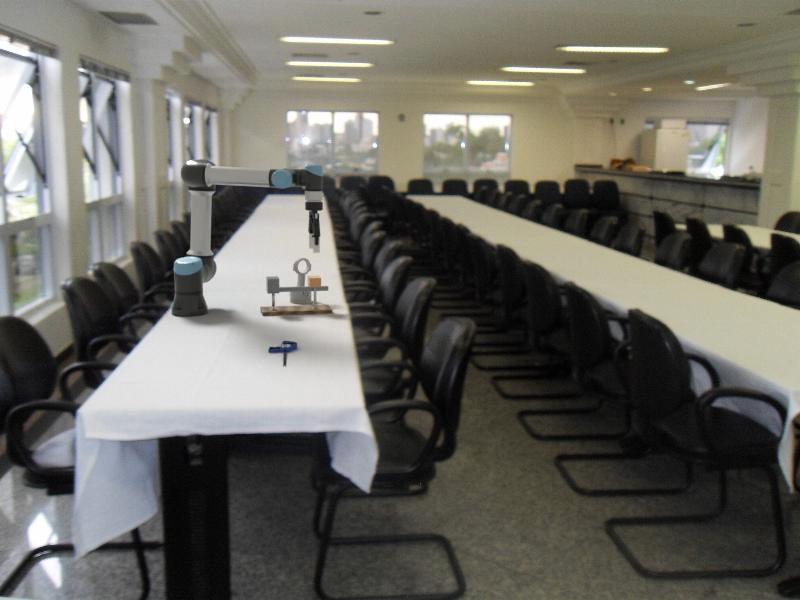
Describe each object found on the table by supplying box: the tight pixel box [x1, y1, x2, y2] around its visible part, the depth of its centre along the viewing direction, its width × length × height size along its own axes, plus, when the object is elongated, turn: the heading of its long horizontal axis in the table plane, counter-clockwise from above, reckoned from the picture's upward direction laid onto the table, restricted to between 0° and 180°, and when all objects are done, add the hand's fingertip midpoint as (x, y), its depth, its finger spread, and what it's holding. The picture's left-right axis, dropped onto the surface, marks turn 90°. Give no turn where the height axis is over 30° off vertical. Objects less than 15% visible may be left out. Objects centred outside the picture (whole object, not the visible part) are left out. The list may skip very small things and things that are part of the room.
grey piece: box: [265, 275, 329, 310], centre depth 346 cm, size 26×7×14 cm, turn 104°
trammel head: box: [307, 275, 322, 307], centre depth 348 cm, size 5×7×13 cm
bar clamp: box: [267, 340, 298, 368], centre depth 272 cm, size 32×2×10 cm
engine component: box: [289, 257, 312, 305], centre depth 369 cm, size 11×20×10 cm
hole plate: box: [260, 304, 333, 317], centre depth 348 cm, size 30×12×2 cm, turn 104°
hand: (314, 250), depth 345 cm, fingers open, 13 cm apart
